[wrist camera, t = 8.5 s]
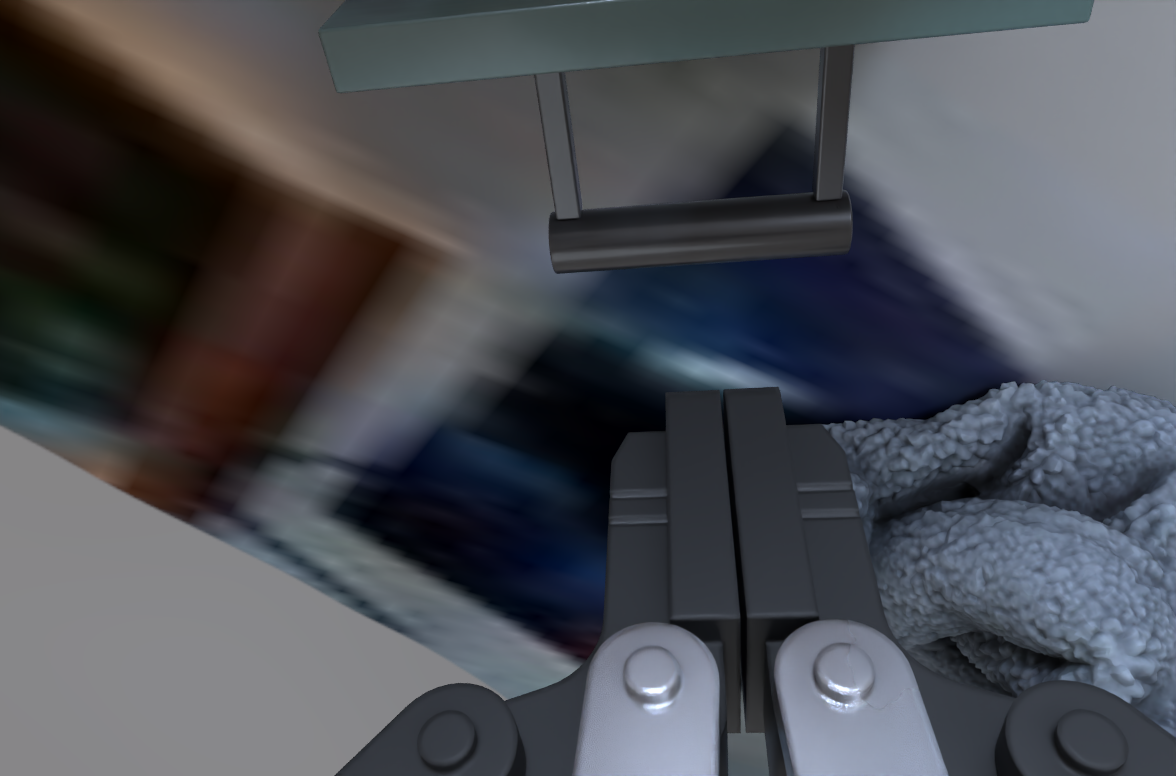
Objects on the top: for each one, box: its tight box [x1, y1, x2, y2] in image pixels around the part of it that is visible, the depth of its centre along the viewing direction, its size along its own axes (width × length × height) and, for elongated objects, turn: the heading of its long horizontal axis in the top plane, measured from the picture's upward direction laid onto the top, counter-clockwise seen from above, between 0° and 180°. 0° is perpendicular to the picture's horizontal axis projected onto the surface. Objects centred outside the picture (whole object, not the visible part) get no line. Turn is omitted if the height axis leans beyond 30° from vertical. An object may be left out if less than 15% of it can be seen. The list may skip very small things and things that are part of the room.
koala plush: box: [822, 380, 1176, 737], centre depth 26 cm, size 17×18×20 cm
